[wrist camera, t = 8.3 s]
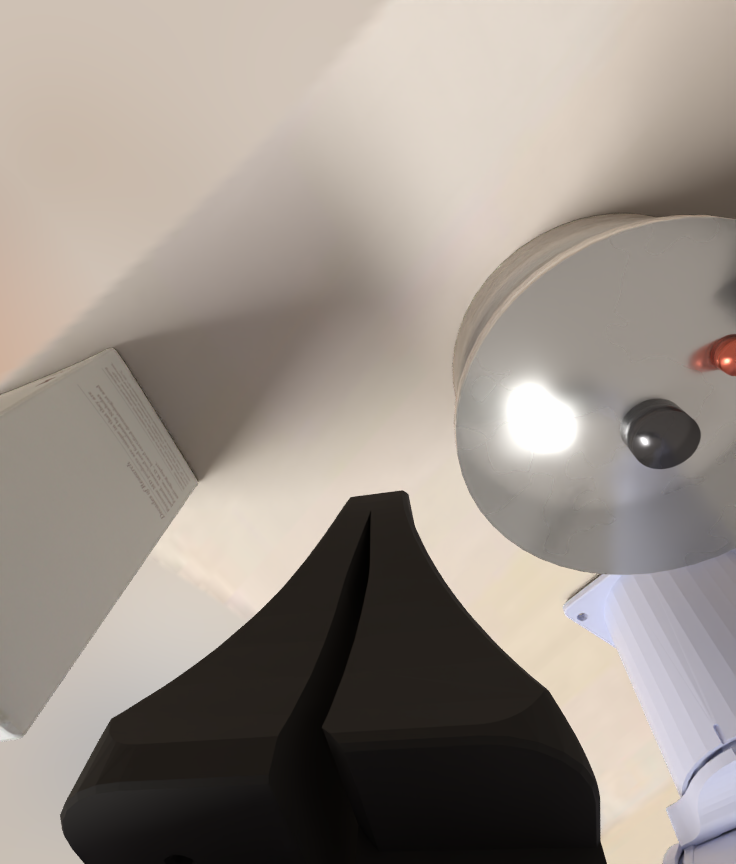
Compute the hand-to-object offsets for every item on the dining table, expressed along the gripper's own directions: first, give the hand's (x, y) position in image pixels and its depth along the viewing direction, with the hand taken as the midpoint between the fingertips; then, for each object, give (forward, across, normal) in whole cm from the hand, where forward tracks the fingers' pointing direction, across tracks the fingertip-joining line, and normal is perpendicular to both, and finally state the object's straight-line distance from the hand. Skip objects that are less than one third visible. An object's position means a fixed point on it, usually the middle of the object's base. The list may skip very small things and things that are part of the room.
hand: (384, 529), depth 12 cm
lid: (+6, -10, -1) cm, 12 cm away
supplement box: (+11, +14, +1) cm, 18 cm away
